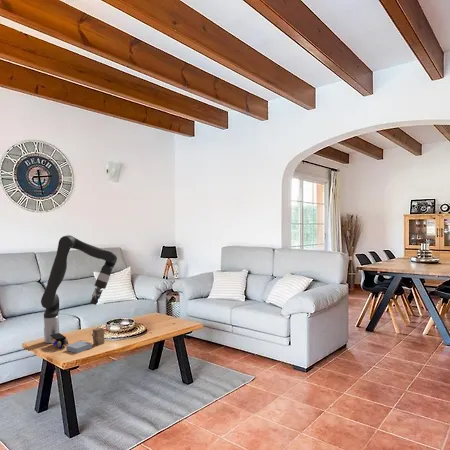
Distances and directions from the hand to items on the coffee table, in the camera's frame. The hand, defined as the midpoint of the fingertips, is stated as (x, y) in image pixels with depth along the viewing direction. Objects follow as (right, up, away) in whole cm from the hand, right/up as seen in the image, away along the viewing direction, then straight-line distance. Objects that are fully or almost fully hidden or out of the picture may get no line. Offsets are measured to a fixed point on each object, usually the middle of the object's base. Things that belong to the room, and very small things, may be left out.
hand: (92, 303), depth 254 cm
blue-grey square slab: (-6, -27, -8) cm, 29 cm away
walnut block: (+4, -27, +1) cm, 27 cm away
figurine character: (-22, -28, -1) cm, 36 cm away
